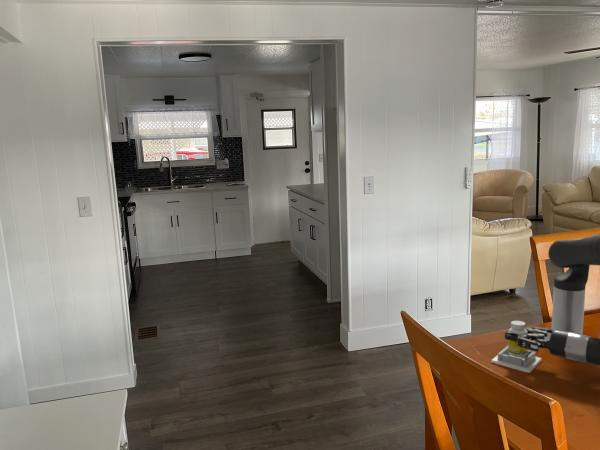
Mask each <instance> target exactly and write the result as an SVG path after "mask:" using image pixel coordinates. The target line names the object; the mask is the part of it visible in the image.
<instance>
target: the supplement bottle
mask: <svg viewBox="0 0 600 450" xmlns="http://www.w3.org/2000/svg"><path fill="white" fill-rule="evenodd" d="M526 324H527V323H526V322H524V321H521V320H513V321H511V322H510V328H509V329H508V331H507V332H511V333H515V334H519V335H527V334H528V332H527V330H526V329H525V328H527V327H526ZM526 339H527V338H526ZM507 342H508V343H507V346H508V352H509V354H511V355H513V356H518V357H522V356H526V355H527V350H528V349H526V348H523V347H520V346H518V342H515V341H511V340H507ZM524 345H525V344H524Z"/></svg>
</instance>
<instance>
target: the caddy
mask: <svg viewBox="0 0 600 450" xmlns="http://www.w3.org/2000/svg"><path fill="white" fill-rule="evenodd" d="M536 353H537V351H533V350H529V349H527V355H526V356H522V357H518V356H513V355H511V354H509V352H508V345H506V346H505V347H504V348H503V349H501V351H499V352H498V353H497V355H496V356H494V358H492V359H491V360H490V361H491V363H492V364H495V365H499V366H503V367H507V368H510V369H514V370H517V371H519V372H520V371H521V372H524V373H529V374H530V373H531V372H532V371H533V370H534V369H535V368H536V367H537V366H538V365H539V364H540V363H541V362H542V359H543V358H542V357H539V356H536V355H537V354H536Z"/></svg>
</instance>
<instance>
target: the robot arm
mask: <svg viewBox="0 0 600 450" xmlns="http://www.w3.org/2000/svg"><path fill="white" fill-rule="evenodd" d="M548 259H549V260H550V262H551V264H553V265H554V266H555V267H557V268H560V269H567V270H566V271H564V272H562V273H561V274H559V275H556V276H555V277H554V279H553V295H552V313H551V316H552V317H551V328H546V327H541V326H532V325H531V326H530V327H525V329H526V330H527V332H528V334H527V335H519V334H515V333H511V332H508V331H506V332H504V339H505V340H506V341H508V340H511V341H515V342H518V346H520V347H523V348H526V349H527V350H530V351H532V352H533V351H534V352H539V349H548V351H549V354H550V355H551V356H555V357H556V358H557V357H558V358H563V359H567V360H572V361H576V362H581V363H588V364H593V365H595V366H596V365H598V366H600V338H598V337H593V336H588V335H585V334H583V333H584V332H583V330H584V320H585V319H584V316H585V305H586V304H585V302H586V300H585V299H586V286H587V283H588V280H589V272H590V267H591V266H600V233H598V234H595V235H590V236H586V237H583V238H575V239H574V238H571V239H558V240H556V241H554V242H553V243H551V244H550V246H549V247H548ZM526 338H527V339H526ZM524 344H525V345H524Z"/></svg>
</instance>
